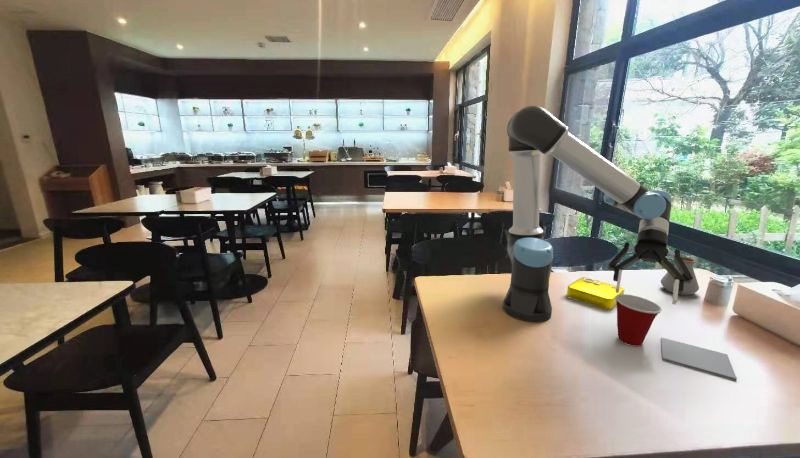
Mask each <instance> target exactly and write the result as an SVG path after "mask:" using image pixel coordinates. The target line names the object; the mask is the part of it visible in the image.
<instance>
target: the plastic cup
mask: <svg viewBox="0 0 800 458" xmlns="http://www.w3.org/2000/svg"><path fill="white" fill-rule="evenodd" d="M615 299H616V301H617V303H616V304H617V305H616V315H617V316H616V326H617V337H618V340H619V341H620V342H622V343H624V344H625V345H628V346H632V347H633V346H634V347H639V346H642V344H643V343H644V341H645V339H646V337H647V335H648V333H649V331H650V330H651V326H652V324H653V322H654V320H655V319H656V317H657V316H658V315H659V314H660V313H661V312H662V310H663V308H662V307H661V306H660V305H658V304H657V303H655V302H654V301H651V300H649V299H647V298H644V297H641V296H638V295H632V294H625V293H624V294H619V295H616V296H615Z"/></svg>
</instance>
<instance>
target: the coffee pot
mask: <svg viewBox="0 0 800 458" xmlns="http://www.w3.org/2000/svg"><path fill="white" fill-rule="evenodd" d="M681 258H682V260H683V262H684V263H685V265H686V267H687V268H688V270H689V272H690V274H691V275H692V277H693V279H692V281H691V283H684V288H683V292H682V293H681V295H680V296H690V294H691V295H692V294H695V293H697V292H698V291H699V289H700V286H699V282H698V279H697V276H696V273H695V271H694V269H695V268H694V266H693V265H695V263H697V260H695V259H693V258H690V257H686V256H681ZM668 261H669V262H670V263H671V264H672V265H673V266H674V267H675V268H676V270H677V271H678V272H679V273H680V271H679V269H678V267H677V266H676V264H675V263H673V262H672V261H670V260H668ZM680 274H681V273H680ZM681 275H682V274H681ZM674 282H675V279H674V278H673V277H672V276H671V275H670V274H669V273H668V272H667V271H666V273H665V274H664V276H662V277H661V280H660V283H661V285H662V287H663V288H664V289H665V288H666V289H665V290H666V291H667V290H668V291H667V292H669V291H670V292H669V293H671V292H672V293H671V294H673V289H674ZM678 294H680V293H678Z"/></svg>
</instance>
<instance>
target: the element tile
mask: <svg viewBox="0 0 800 458" xmlns="http://www.w3.org/2000/svg"><path fill="white" fill-rule="evenodd" d="M616 286H617V285H614V284H611V283H607V282H603V281H600V280H596V279H593V278H589V277H585V276H584V277H579V278H578V279H576V280H574V281H573V282H571V283H570V284H568V285H567V290H566V296H567V298H569V299H571V300H572V299H573V300H576V301H578V302H582V303H585V304H588V305H591V306H594V307H597V308H601V309H603V310H604V309H605V310H612V309H614V308H615V307H617V304H616V303H617V301H616V299H615V296H616V295H619V294H625V288H624V287H622V286H620V287H619V293H616Z"/></svg>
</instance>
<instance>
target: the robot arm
mask: <svg viewBox="0 0 800 458" xmlns="http://www.w3.org/2000/svg"><path fill="white" fill-rule="evenodd" d="M506 133H507V136H508V153H509V154H510V155H511V156H512V161H513V164H512V165H513V166H512V169H513V170H512V171H513V173H512V178H513V179H512V192H513V194H512V226H511V227H510V228H509V229H508V241H507V244H506V250H507V254H508V255H507V256H508V257H509V259H510V262H511V274H510V284H509V288H508V290H507V292H506V294H505V296H504V299H503V302H502V310H503V311H504V312H505V313H506V314H507V315H508V316H510V317H513V318H515V319H517V320H522V321H525V322H526V321H527V322H533V323H534V322H535V323H537V322H539V323H540V322H545V321H547V320H549V319H550V318H551V317H552V312H553V307H552V306H553V305H552V302H551V298H550V295H549V289H550V281H551V274H552V273H551V272H552V265H553V260H554V247H553V246H552V244H551V243H550V242H548V241H546V240H544V234H545V233H544V229H543V228H542V227H541V226H540V193H541V191H540V190H541V189H540V188H541V187H540V186H541V156H542V154H544V155H551V156H552V157H553V158H555V159H556V160H558V161H559V162H561V163H562V164H563V165H564V166H566V167H567V168H569V169H570V170H571V171H572V172H574V173H576V174H577V175H579V176H580V177H581V178H583V179H584V180H586V181H587V182H589V183H590V184H591V185H592V186H595V188H597V189H598V190H600V191H601V192H602V193H604V194H603V202H604V203H605V204H608V205H610V206H612V207H615V208H618V209H620V210H623V211H624V212H627V213H630V214H632V215H634V216H637V217H638V218H640V219H639V227H638V234H637V240H636V245H632V244H630V242H625V243H624V245H623V248H622V249H621V250H620V251H619V252H618V253H617V254H616V256H614V257H613V258H612V259H611V261H610V262H609V263H608V266H607V268H608V270H610V271H611V270H612V271H613V272H614V273H613V279H612V280H613V282H616V285H615V286H616V293H619V287H621V286H620V285H621V280H622V274H623V270H625V269H626V268H628V267H629V266H631V265H632V264H635V263H637V262H639V261H642V262H650V263H652V264H656V263H658V264H659V265H660V266H661V267H663V268H664V270H666V273H667V272H668V273H669V274H670V275H671V276H672V277H673V278H674V279H675V282H674V289H673V293H672V303H671V304H672V305H676V304H677V303H678V299H679V295H678V293H680V294H681V293H682V292H683V288H684V283H691V281H692V279H693V277H692V275H691V274H690V272H689V270H688V268H687V267H686V265H685V263H684V262H683V260H682V258H681V257H682V256H681V250H680V249H677V248H676V249H675V250H668V238H669V236H668V235H669V228H670V219H671V211H672V197H671V194H670V192H668V191H666V190H664V189H663V190H661V189H660V190H658V189H651V190H650V189H648V188H647V187H645V186H644V185H643V184H641V183H639V181H637V180H636V179H635V178H633V177H632V176H630V175H628V174H627V173H626V172H625V171H624V170H621V169H620V168H619V167H617V166H616V165H615V164H614V163H612V162H611V161H609V160H608V159H606V158H605V157H604V156H602V155H601V154H599V152H597V151H595V150H594V149H593V148H591V147H590V146H589V145H587V144H586V143H584V142H583V141H581V140H580V139H579V138H577V137H575V135H573V134H571V133H570V132H569V127H568V126H567V125H566V124H565V123H563V122H562V121H561V120H559V119H558V118H557V117H555V116H554V114H552V113H551V112H549V111H548V110H547V109H546V108H544V107H541V106H539V105H528V106H525V107H523V108H521V109H520V110H518V111H517V112H515V113H514V114H513V115H512V116H511V117H510V119H509V121H508V123H507V128H506ZM632 251H634V252H635V253H633V254H632V255H631V256H630V257H628V258H626V259H625V260H623V261H622V259H623V258H625V257H626V255H627V254H628V253H630V252H632ZM667 256H670V258H671V259H673V262H674V264H676V266H677V267H678V269H679V271H680V273H681V274H682V275H681V274H680V273H679V272H678V271H677V270H676V268H675V267H674V266H673V265H672V264H671V263H670V262H671V261H670V260H668V258H667ZM620 261H622V262H620ZM669 261H670V262H669ZM619 262H620V263H619Z"/></svg>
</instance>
